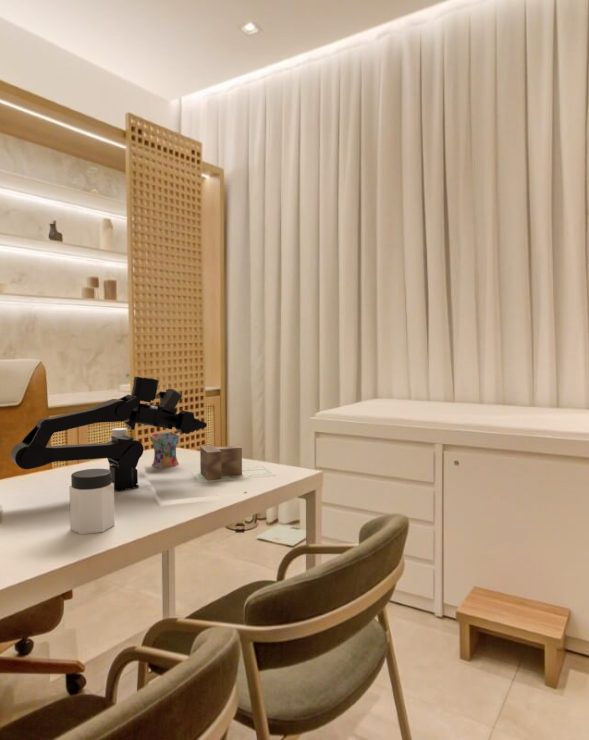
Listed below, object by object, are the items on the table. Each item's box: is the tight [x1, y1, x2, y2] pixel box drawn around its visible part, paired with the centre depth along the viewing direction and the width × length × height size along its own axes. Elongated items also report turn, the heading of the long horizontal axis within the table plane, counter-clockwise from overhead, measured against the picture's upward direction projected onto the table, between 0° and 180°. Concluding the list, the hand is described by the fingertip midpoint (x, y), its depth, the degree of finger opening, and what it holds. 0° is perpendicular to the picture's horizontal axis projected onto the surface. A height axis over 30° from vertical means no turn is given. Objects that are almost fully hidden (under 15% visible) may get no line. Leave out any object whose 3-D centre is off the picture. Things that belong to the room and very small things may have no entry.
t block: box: [199, 445, 243, 480], centre depth 158 cm, size 11×10×8 cm
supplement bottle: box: [108, 427, 128, 469], centre depth 171 cm, size 7×7×13 cm
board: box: [191, 465, 276, 484], centre depth 160 cm, size 22×13×1 cm, turn 111°
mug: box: [149, 432, 180, 469], centre depth 174 cm, size 12×9×11 cm
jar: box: [68, 468, 116, 535], centre depth 116 cm, size 9×8×12 cm
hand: (199, 423), depth 162 cm, fingers open, 9 cm apart
